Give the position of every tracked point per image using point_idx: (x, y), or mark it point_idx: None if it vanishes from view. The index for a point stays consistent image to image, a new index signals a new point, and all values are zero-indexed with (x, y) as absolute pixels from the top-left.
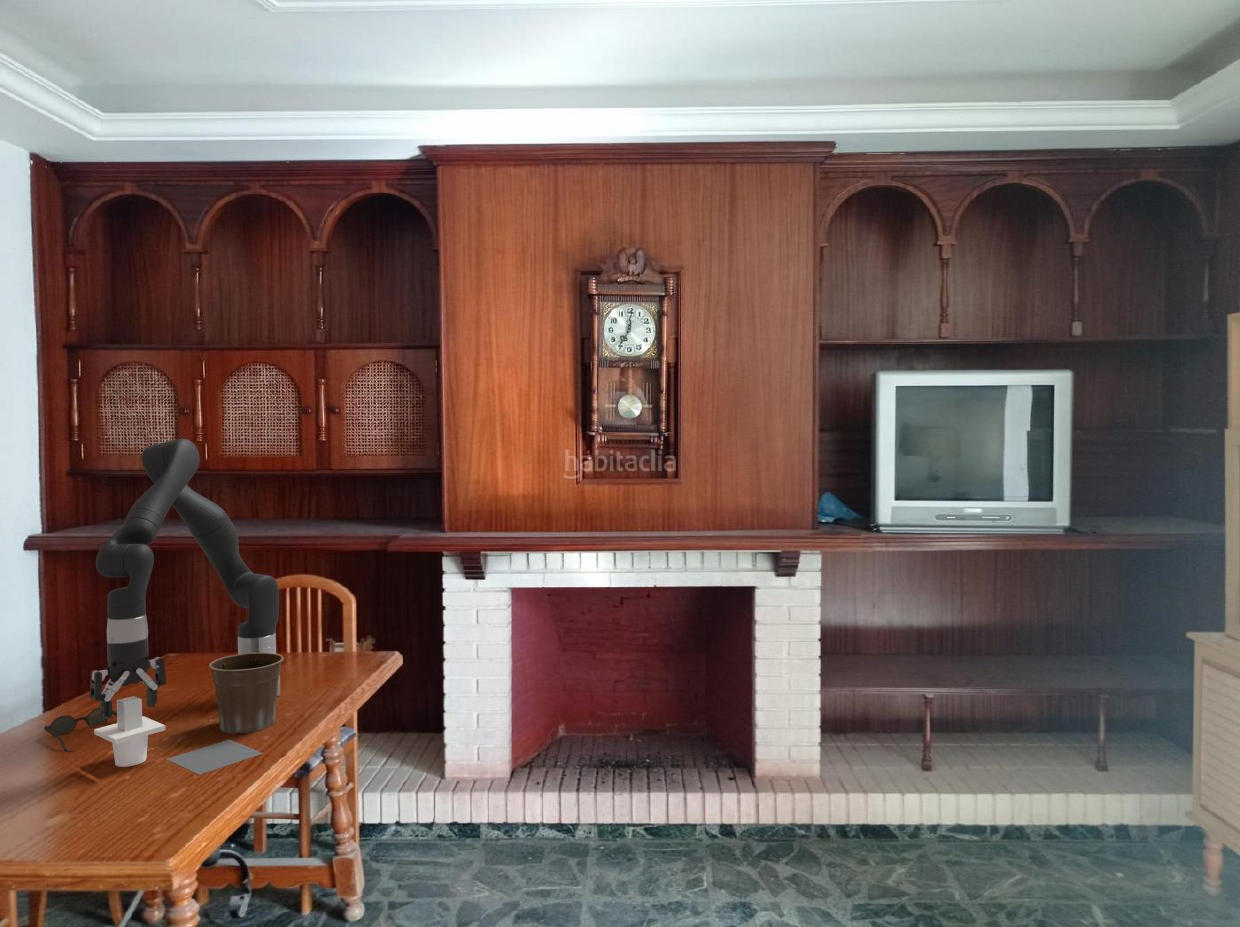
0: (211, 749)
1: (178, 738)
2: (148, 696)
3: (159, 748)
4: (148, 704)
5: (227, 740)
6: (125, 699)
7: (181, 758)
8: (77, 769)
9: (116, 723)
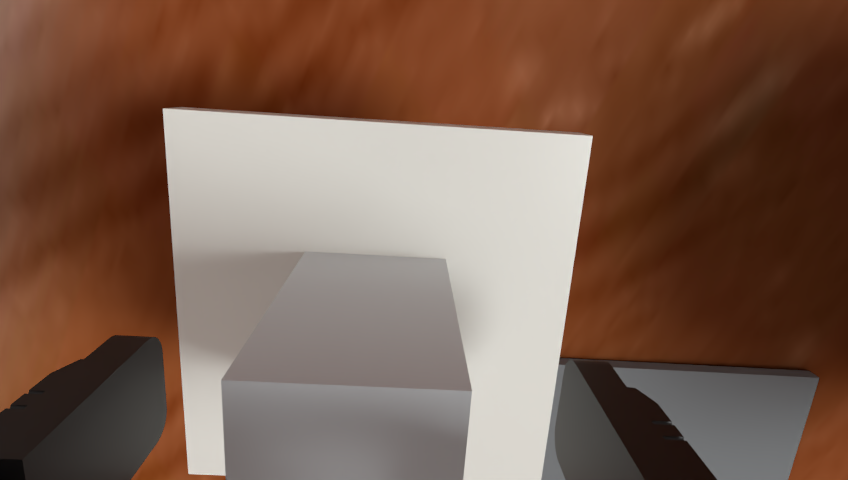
0: (682, 423)
1: (745, 84)
2: (600, 473)
3: (591, 147)
4: (568, 405)
5: (803, 383)
6: (320, 437)
7: None
8: (177, 62)
9: (356, 121)
